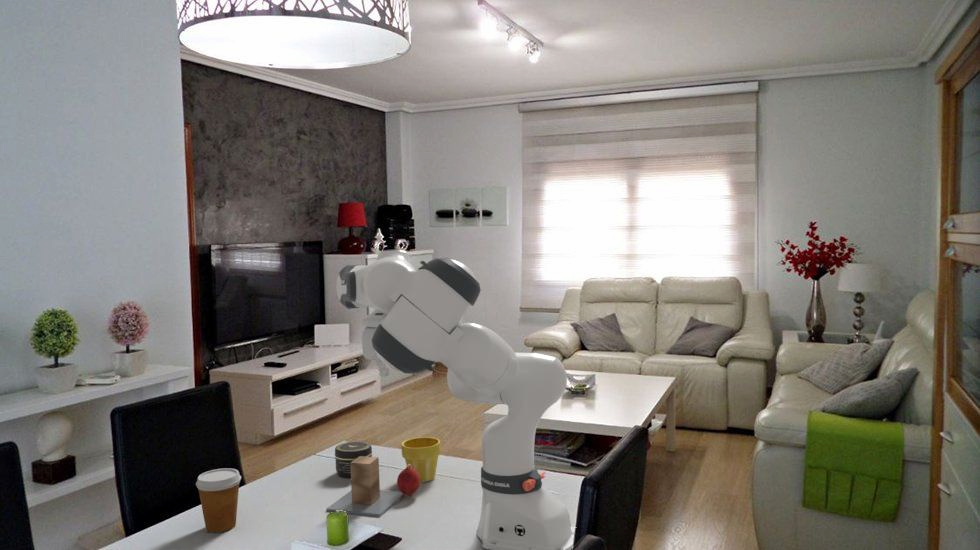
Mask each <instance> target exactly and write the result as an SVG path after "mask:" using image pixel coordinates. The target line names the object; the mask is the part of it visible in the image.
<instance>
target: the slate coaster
mask: <svg viewBox="0 0 980 550" xmlns="http://www.w3.org/2000/svg"><path fill="white" fill-rule="evenodd" d="M404 496H405V495H404V494H403V493H402V492H401V491H395V490H386V489H380V498H379V499H378V500H377V501H375V502H374V503H373V504H372V505H362V504H352V490H350V491H348V492H347V493H346V494H344V495H343V496H341V497H340V498H339V499H337V500H336V501H334V502H333V503H332V504H331V505H329V506H328V507H327V508H325V509H326V512H331V511H336V510H343V511H346V512H348V513H347V514H348V515H349V514H352V515H358V516H361V515H362V516H370V517H379V518H380V517H382V516H383V515H384V514H385V513H386V512H387V511H388V510H390V509H391V508H392V507H393V506H394V505H395V504H397V503H398V502H399V501H400V500H401V499H402V498H403V497H404Z"/></svg>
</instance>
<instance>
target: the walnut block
mask: <svg viewBox="0 0 980 550" xmlns="http://www.w3.org/2000/svg"><path fill="white" fill-rule="evenodd" d="M379 460H380V459H379V457H378V456H377V457H376V456H372V457H366V456H359V457H358V458H356V459H355V460H354V461H352V462H351V463H350V464H351V479H350V480H351V481H350V483H351V484H350V485H351V486H350V487H351V488H350V489H351V490H352V504H362V505H372V504H373V503H374V502H375V501H377V500H378V499H379V498H380V490H381V488H380V487H381V486H380V463H379V462H380V461H379ZM351 490H350V491H351Z"/></svg>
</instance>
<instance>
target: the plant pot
mask: <svg viewBox="0 0 980 550" xmlns="http://www.w3.org/2000/svg"><path fill="white" fill-rule="evenodd" d="M441 446H442V445H441V440H440V439H439V438H437V437H431V436H420V437H419V436H418V437H412V438H409V439H408V438H407V439H406V440H403V441H402V442H401V446H400V447H401V456H402V458H403V459H404V460H405V466H407V465H409V464H411V465H412V468H413V469H414V470H416V471H417V472H418V474H419V476H420V480H421V483H425V482H431V481H432V480H435V478H436V473H437V465H438V459H439V456H440V454H441V451H442V450H441V448H442V447H441ZM430 480H431V481H430Z"/></svg>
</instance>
